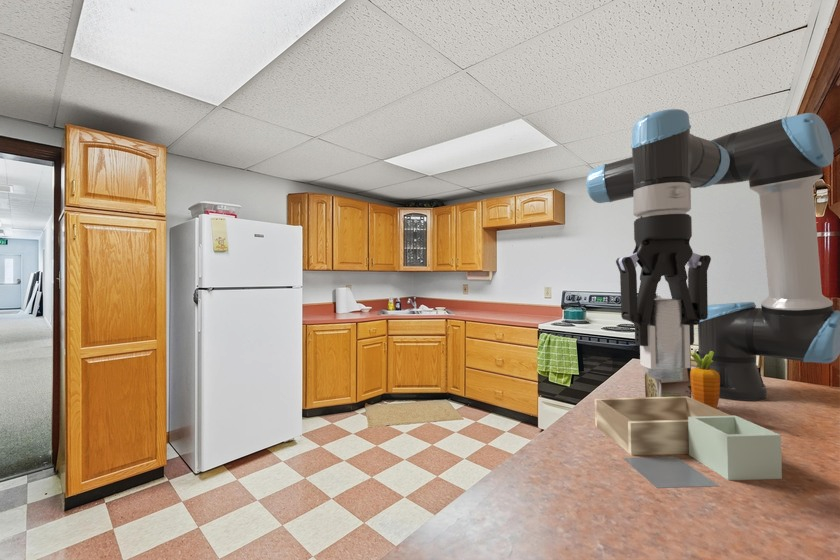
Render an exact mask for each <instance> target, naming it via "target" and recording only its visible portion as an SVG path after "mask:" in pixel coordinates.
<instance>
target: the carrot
mask: <svg viewBox="0 0 840 560" xmlns="http://www.w3.org/2000/svg"><path fill="white" fill-rule="evenodd" d="M713 355H714V352H713V351H710V352H709V355H707V354H706V356H705V357H704V359H702V362H701V359H700V356H699V353H695V352H692V353H691V356H692V357H691V358H693V359H694V361H695V363H696V364H698V366H699V367H698V368H696V367H693V368H691V371H690V380H691V397H692V399H694V400H697V401H699V402H701V403H704V404H706V405H708V406H710V407H713V408H715V409H717V408H718V405H719V400H720V397H719V395H720V375H719V373H718V372H717V371H715V370H713V369H711V368H708V367H709V366H710V365H711V364H712V362H713V360H712V358H713ZM717 410H718V409H717Z"/></svg>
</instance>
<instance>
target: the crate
mask: <svg viewBox="0 0 840 560" xmlns="http://www.w3.org/2000/svg"><path fill="white" fill-rule="evenodd" d="M699 416H732V414H729V413H726V412H724V411H722V410H719V409H715V408H713V407H710V406H708V405H706V404H704V403H701V402H699V401H697V400H694V399H693V397H691V398H690V397H687V396H683V397H646V398H645V397H619V398H618V397H615V398H611V397H610V398H594V421H595V422H594V425H595V427H596V428H597V429H599V430H600V431H601V432H602V433H604V434H605V435H606V436H607V437H609V438H610V439H611V440H612V441H614V443H616V444H617V445H618V446H619V447H621V448H622V449H623V450H625V452H627V453H628V454H629V455H630V456H645V455H646V456H649V455H651V456H652V455H653V456H654V455H685V454H687V455H689V430H688V417H699Z"/></svg>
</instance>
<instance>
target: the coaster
mask: <svg viewBox="0 0 840 560" xmlns="http://www.w3.org/2000/svg"><path fill="white" fill-rule="evenodd" d="M622 459H623V460H624V461H625V462H626V463H627V464H629V465H630V467H632V468H633V469H635V471H637V472H638V473H639V474H640V475H641V476H642V477H643V478H645V479H646V481H649V482H650V484H652V485H653V486H654V487H655V488H656V489H669V488H672V489H673V488H704V487H705V488H706V487H709V488H710V487H720V485H719V484H717V483H716V482H715V481H713V480H712V479H710V478H709V477H707V476H706V475H705V474H703V473H701V472H700V471H698V470H697V469H696V468H694V467H693V466H691V465H689V464H688V463H686V461H684V460H682V459H681V458H680V457H679V456H652V457H623V458H622Z"/></svg>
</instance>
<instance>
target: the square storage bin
mask: <svg viewBox="0 0 840 560" xmlns="http://www.w3.org/2000/svg"><path fill="white" fill-rule="evenodd" d="M688 430H689V454H688V455H689V456H690V457H691V458H694V460H696V461H698V462H700V464H702V465H704V466H706V468H708V469H710V470H711V471H713V472H714V473H716V474H718V475H719V476H720V477H722V478H724V479H726V480H727V481H747V480H750V481H751V480H775V479H776V480H780V479H781V480H782V479H783V473H782V472H783V468H782V466H783V464H782V463H783V462H782V461H783V460H782V435H781V434H780V433H777V432H774V431H773V430H771V429H768V428H765V427H763V426H761V425H758V424H756V423H754V422H752V421H750V420H748V419H744V418H743V417H740V416H738V415H731V416H699V417H688Z"/></svg>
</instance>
